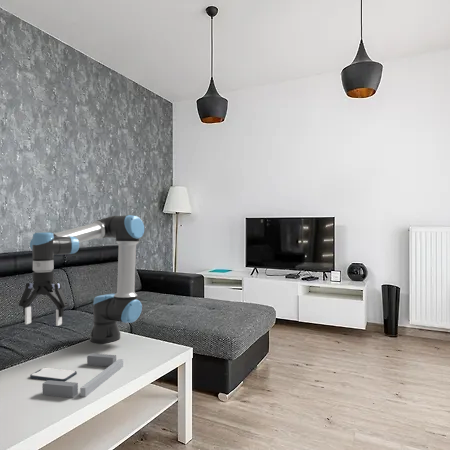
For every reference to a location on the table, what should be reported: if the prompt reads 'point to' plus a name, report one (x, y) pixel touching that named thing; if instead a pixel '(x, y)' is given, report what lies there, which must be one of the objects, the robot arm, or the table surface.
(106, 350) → the table surface
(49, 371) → the smartphone
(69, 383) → the grey u-shaped piece
